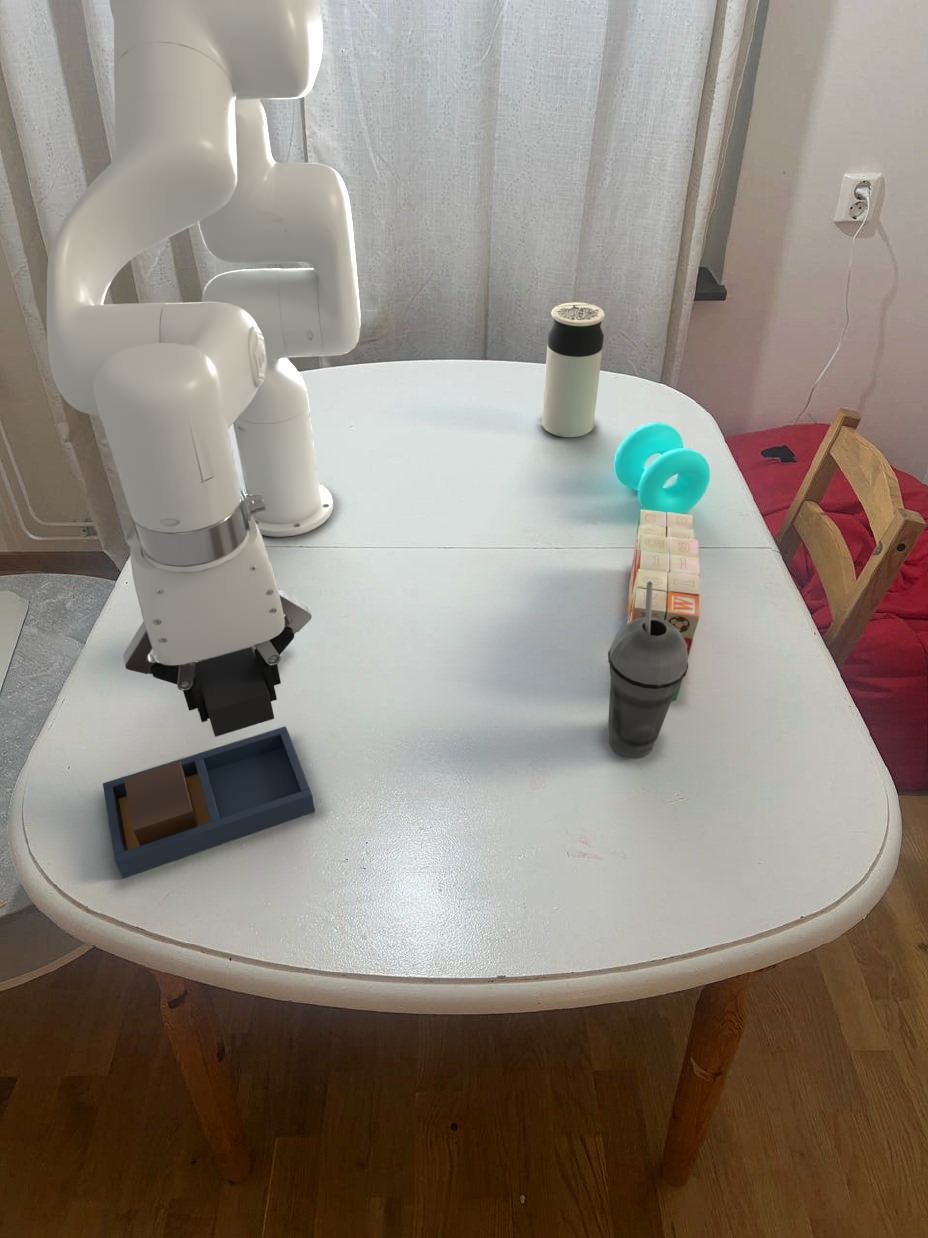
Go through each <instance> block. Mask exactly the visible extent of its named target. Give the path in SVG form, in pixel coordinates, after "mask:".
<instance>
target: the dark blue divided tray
mask: <svg viewBox="0 0 928 1238" xmlns="http://www.w3.org/2000/svg"><path fill="white" fill-rule="evenodd" d="M179 761H180V762H181V765H182V768H183V771H184V774H185V777H186V779H187V782H188V786H189V790H190V794H191V798H192V802H193V806H194V810H195V814H196V818H197V822H198V827H195V828H192V829H189V830H186V831H183V832H180V833H177V834H174V835H171V836H168V837H166V838H163V839H160V840H157V841H154V842H151V843H148V844H145V845H142V846H140V844H139V842H138V840H137V838H136V835H135V833H134V831H133V826H132V820H131V815H130V809H129V804H128V798H127V793H126V787H125V782H124V778H128V777H131V776H134V775H137V774H140V773H144V772H147V771H150V770H153V769H156V768H160V767H163V766H166V765H169V764H172V763H176V762H179ZM102 788H103V795H104V802H105V809H106V814H107V819H108V820H107V821H108V828H109V834H110V841H111V847H112V852H113V858H114V863H115V865H116V867H117V869H118V871H119V874H120V876H121V878H122V879H126V878H128V877H131V876H134V875H137V874H141V873H143V872H146V871H148V870H153V869H154V868H158V867H160V866H163V865H165V864H169V863H171V862H174V861H178V860H180V859H184V858H186V857H189V856H192V855H195V854H197V853H200V852H204V851H206V850H208V849H212V848H215V847H217V846H220V845H224V844H226V843H229V842H232V841H235V840H237V839H238V840H239V839H240V838H243V837H246V836H249V835H252V834H255V833H258V832H260V831H264V830H266V829H269V828H273V827H276V826H278V825H282V824H284V823H286V822H289V821H293V820H295V819H297V818H301V817H304V816H306V815H310V814H313V813H315V812H316V808H315V804H314V803H315V802H314V799H313V798H314V797H313V795H312V794H313V793H312V791H311V788H310V786H309V783H308V780H307V778H306V775H305V772H304V770H303V768H302V764H301V762H300V760H299V757H298V754H297V751H296V748H295V746H294V744H293V741H292V738H291V735H290V733H289V731H288V728H287V726H286V725H285V726H282V727H278V728H275V729H272V730H269V731H266V732H263V733H259V734H256V735H252V736H249V737H246V738H243V739H240V740H237V741H233V742H230V743H227V744H224V745H221V746H218V747H213V748H210V749H208V750H205V751H202V752H198V753H195V754H192V755H188V756H186V757H182V758H179V759H176V760H173V761H170V762H167V763H163V764H160V765H156V766H153V767H151V768H147V769H144V770H140V771H138V772H134V773H132V774H128V775H125V776H121V777H118V778H115V779H112V780H109V781H105V782H103V783H102Z"/></svg>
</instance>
